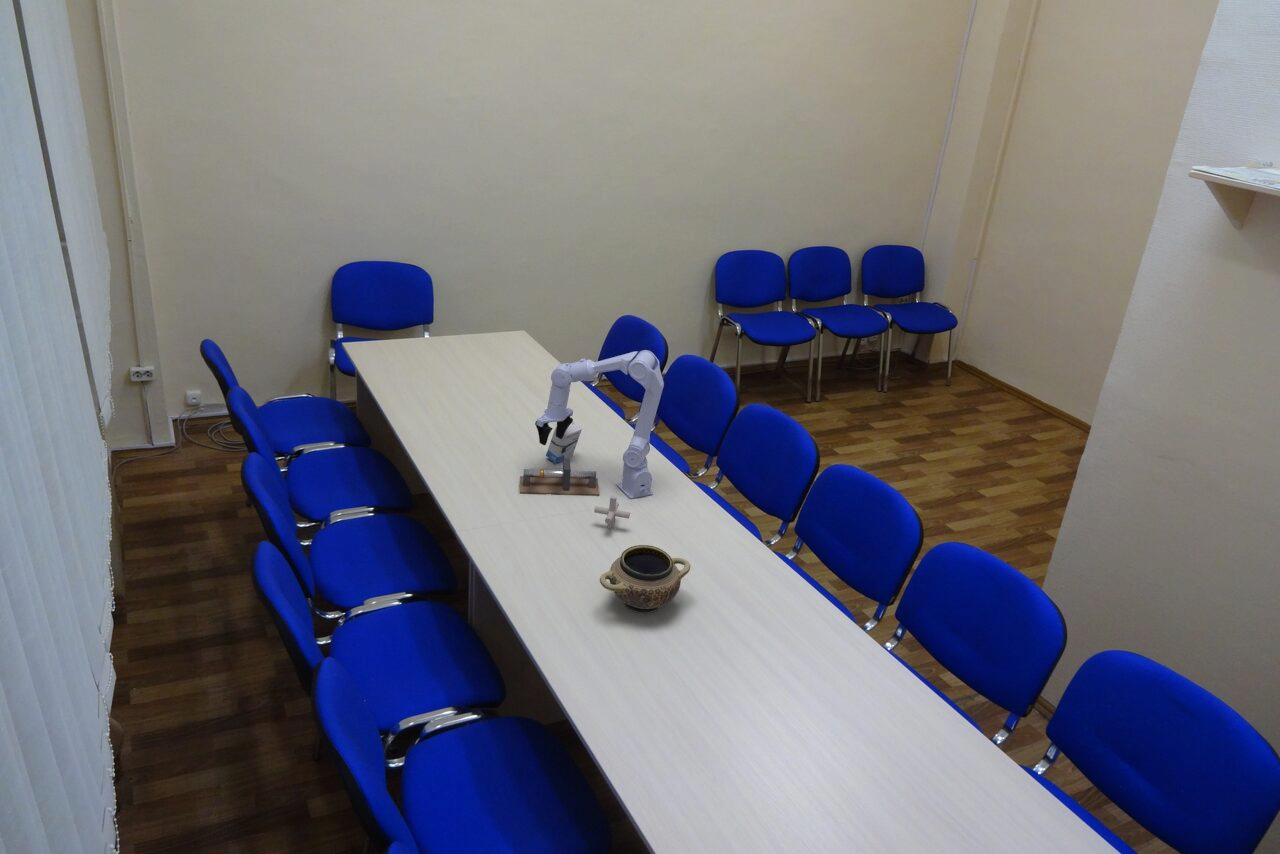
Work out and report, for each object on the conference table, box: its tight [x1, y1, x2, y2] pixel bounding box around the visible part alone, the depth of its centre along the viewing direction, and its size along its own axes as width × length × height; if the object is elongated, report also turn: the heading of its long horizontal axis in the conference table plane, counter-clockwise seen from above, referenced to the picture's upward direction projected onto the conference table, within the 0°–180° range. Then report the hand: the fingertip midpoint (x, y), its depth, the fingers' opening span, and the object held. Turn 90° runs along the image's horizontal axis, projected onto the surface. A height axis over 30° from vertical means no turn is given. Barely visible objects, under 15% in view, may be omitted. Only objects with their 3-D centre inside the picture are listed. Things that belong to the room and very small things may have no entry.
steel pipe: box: [522, 468, 597, 488], centre depth 281 cm, size 22×3×5 cm, turn 96°
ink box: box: [545, 421, 583, 464], centre depth 297 cm, size 8×5×12 cm, turn 143°
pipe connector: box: [593, 495, 631, 530], centre depth 262 cm, size 10×10×10 cm
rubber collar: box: [562, 458, 572, 490], centre depth 281 cm, size 2×7×7 cm, turn 6°
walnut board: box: [519, 475, 600, 497], centre depth 283 cm, size 24×10×1 cm, turn 96°
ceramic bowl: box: [599, 544, 691, 614], centre depth 230 cm, size 24×18×15 cm
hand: (550, 440), depth 286 cm, fingers open, 7 cm apart
